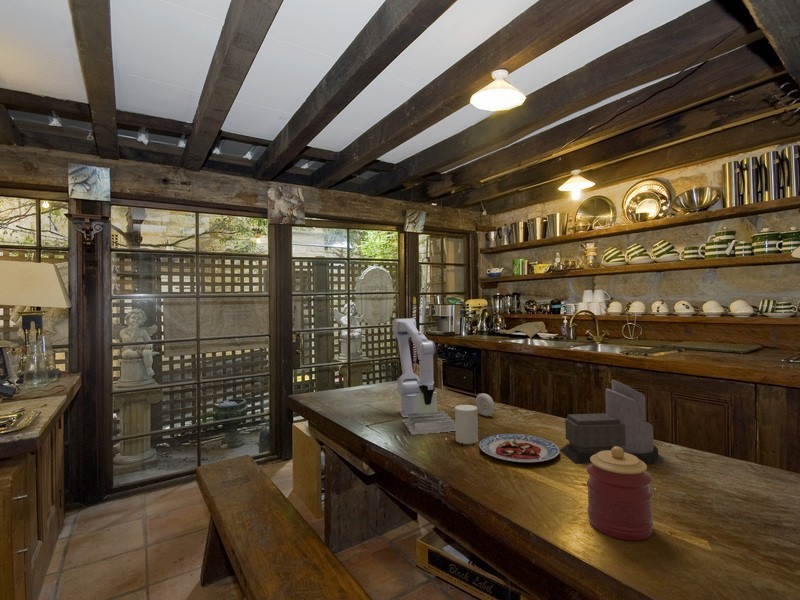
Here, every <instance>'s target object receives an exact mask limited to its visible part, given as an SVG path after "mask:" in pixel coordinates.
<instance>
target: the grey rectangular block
mask: <svg viewBox="0 0 800 600" xmlns="http://www.w3.org/2000/svg"><path fill="white" fill-rule="evenodd" d="M438 411H439V410H438V392H437V391H434V392H433V395H432V400H431V404H430V405H425V401H424V395H423V393H421V392H420V393H417V412H418V414H422V413H434V412H438Z"/></svg>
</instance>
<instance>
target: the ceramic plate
mask: <svg viewBox="0 0 800 600" xmlns="http://www.w3.org/2000/svg"><path fill="white" fill-rule="evenodd" d="M478 446H479V449H480V450H481V451H482V452H483V453H485V454H487V455H488V456H491V457H493V458H495V459H498V460H504V461H509V462H515V463H516V462H517V463H540V462H545V461H550V460H552V459H555V458H556V457H558V456H559V454H560V448H559V447H558V445H556V444H555V443H553V442H552V441H550V440H547V439H546V438H543V437H539V436H534V435H530V434H529V435H528V434H522V433H521V434H520V433H501V434H495V435H490V436H487V437H484V438H483V439H481V440H480V442H479V445H478Z"/></svg>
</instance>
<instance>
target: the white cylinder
mask: <svg viewBox="0 0 800 600" xmlns="http://www.w3.org/2000/svg"><path fill="white" fill-rule="evenodd" d="M454 418H455V419H454V420H455V429H456V432H455V442H457V443H458V442H459V444H461V443H463V444H462V445H472V444H473V443H474V444H476V442H477V443H478V442H479V423H478V421H479V420H478V419H479V418H478V410H477V407H476V405H471V404H460V405H459V404H458V405H456V406H455V407H454Z"/></svg>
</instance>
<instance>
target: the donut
mask: <svg viewBox="0 0 800 600" xmlns="http://www.w3.org/2000/svg"><path fill="white" fill-rule="evenodd" d="M484 403H485V404H486V407H485V405H484ZM475 406H476V407H477V412H478V413H479V414H480V415H482V416H483V417H489V416H491V415H493V413H494V411H495V403H494V400H493V398H492V396H490V395H489V394H487V393H480V394H478V395H477V396H476V398H475Z"/></svg>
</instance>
